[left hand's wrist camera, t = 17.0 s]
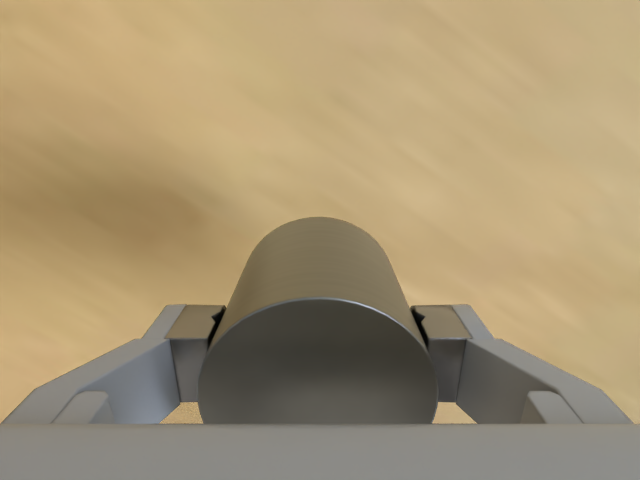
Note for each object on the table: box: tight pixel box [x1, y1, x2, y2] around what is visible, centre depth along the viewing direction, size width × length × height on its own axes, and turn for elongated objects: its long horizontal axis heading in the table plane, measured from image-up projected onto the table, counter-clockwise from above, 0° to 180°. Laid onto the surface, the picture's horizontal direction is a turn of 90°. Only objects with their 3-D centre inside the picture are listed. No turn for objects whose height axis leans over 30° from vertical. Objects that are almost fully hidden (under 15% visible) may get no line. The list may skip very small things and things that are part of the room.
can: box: [197, 217, 439, 424], centre depth 10 cm, size 5×5×5 cm
